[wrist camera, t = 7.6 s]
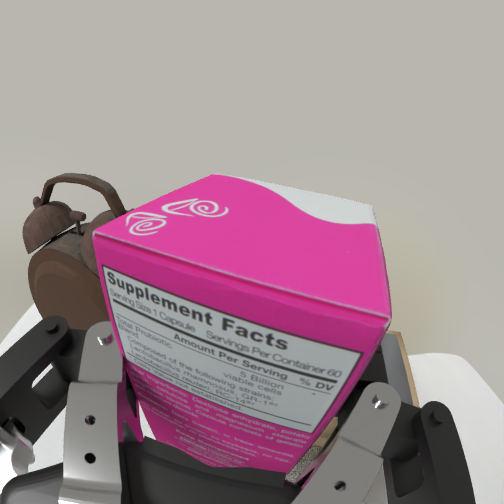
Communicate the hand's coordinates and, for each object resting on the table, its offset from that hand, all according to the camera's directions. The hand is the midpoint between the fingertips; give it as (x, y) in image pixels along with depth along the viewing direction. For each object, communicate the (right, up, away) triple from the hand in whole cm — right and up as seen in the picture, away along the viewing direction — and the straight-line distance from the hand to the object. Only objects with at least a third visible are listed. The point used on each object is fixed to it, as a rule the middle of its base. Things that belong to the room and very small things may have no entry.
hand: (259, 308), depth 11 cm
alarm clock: (-16, -10, +16) cm, 24 cm away
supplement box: (-1, -7, +1) cm, 7 cm away
